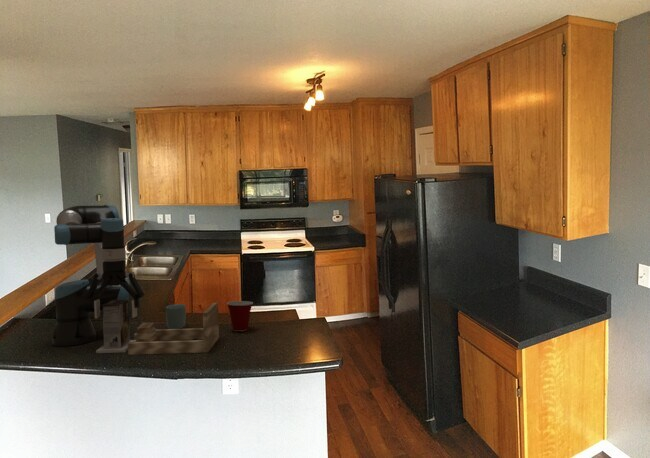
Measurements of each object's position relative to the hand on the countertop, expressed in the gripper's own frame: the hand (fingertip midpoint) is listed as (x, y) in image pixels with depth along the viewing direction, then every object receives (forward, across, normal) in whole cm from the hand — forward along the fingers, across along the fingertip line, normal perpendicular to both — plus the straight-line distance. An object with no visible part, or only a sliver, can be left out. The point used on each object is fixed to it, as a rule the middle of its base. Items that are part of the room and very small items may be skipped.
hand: (116, 317), depth 166 cm
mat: (+11, 0, 0) cm, 11 cm away
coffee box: (+10, 0, 0) cm, 11 cm away
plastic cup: (+12, +43, +19) cm, 48 cm away
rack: (+11, +22, 0) cm, 24 cm away
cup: (+12, +15, +24) cm, 30 cm away
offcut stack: (+11, +11, 0) cm, 16 cm away
